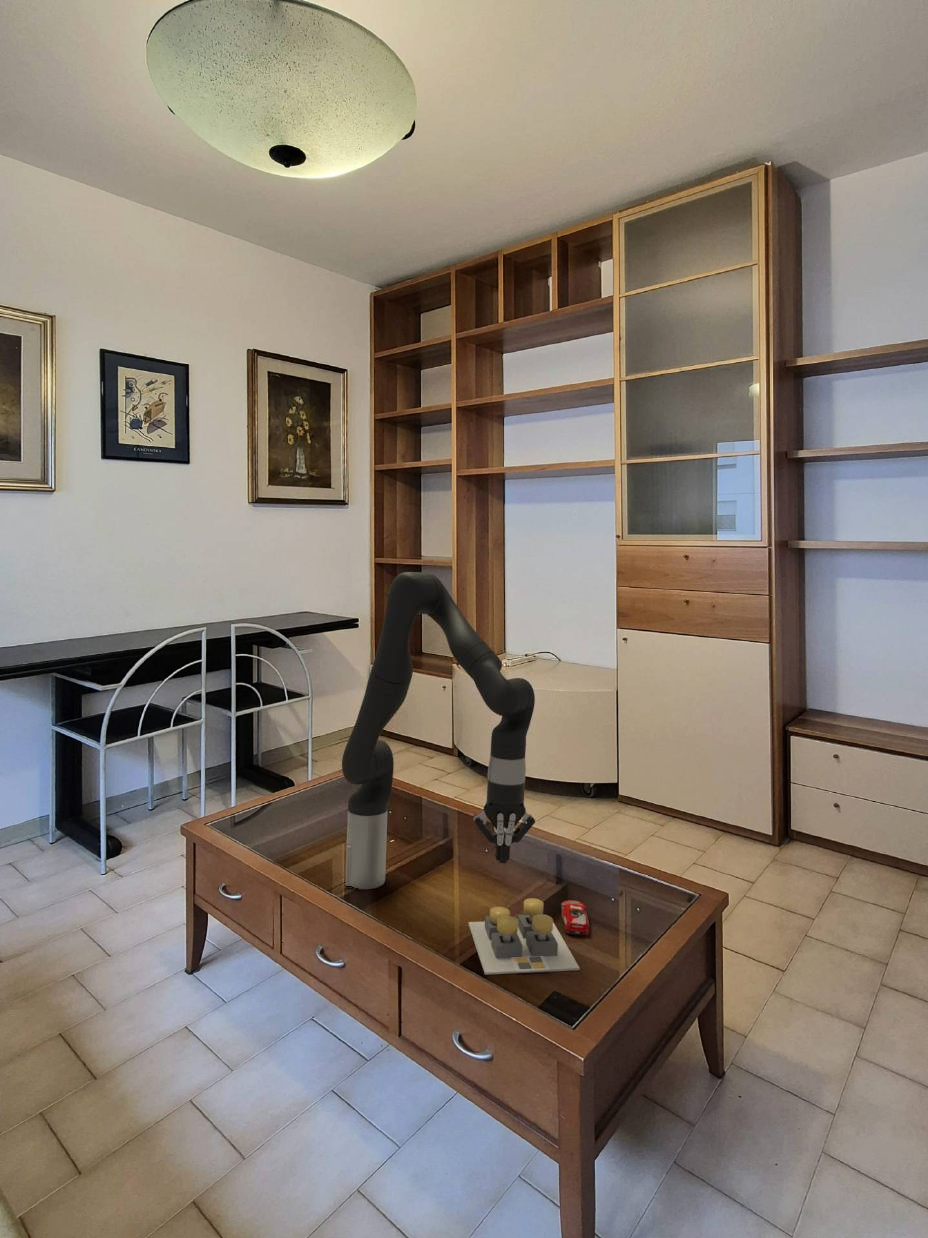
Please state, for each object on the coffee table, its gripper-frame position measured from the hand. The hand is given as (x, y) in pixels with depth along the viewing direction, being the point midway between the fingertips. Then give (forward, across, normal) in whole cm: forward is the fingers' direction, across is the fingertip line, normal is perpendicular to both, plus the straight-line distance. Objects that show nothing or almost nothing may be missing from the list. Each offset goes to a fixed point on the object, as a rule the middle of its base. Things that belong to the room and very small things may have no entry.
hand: (501, 861), depth 143 cm
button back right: (+13, +7, 0) cm, 15 cm away
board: (+15, +4, -5) cm, 16 cm away
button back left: (+15, 0, 0) cm, 15 cm away
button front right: (+13, +7, -7) cm, 16 cm away
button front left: (+13, 0, -7) cm, 15 cm away
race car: (+16, +18, +4) cm, 24 cm away
